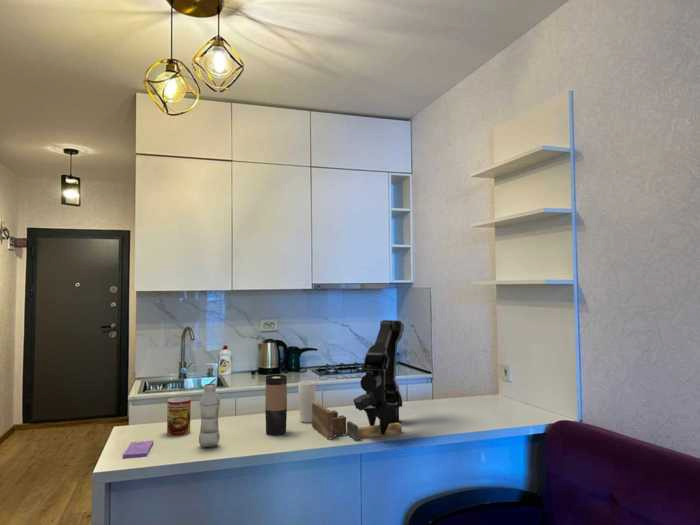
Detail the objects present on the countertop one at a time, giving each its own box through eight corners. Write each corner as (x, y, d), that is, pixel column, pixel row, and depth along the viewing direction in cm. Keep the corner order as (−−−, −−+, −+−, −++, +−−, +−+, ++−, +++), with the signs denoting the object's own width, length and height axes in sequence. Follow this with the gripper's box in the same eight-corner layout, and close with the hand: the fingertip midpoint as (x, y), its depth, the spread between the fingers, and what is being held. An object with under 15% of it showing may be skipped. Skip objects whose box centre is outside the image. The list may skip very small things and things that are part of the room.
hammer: (395, 429, 181) (395, 415, 181) (404, 434, 175) (404, 420, 175) (347, 436, 173) (347, 421, 174) (354, 441, 167) (354, 426, 168)
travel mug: (290, 430, 180) (290, 375, 181) (280, 436, 172) (280, 378, 173) (271, 428, 182) (271, 374, 183) (261, 434, 175) (261, 377, 176)
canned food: (166, 437, 173) (166, 402, 173) (168, 431, 180) (168, 397, 181) (189, 435, 175) (190, 400, 175) (190, 429, 182) (191, 396, 183)
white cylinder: (313, 424, 188) (313, 384, 189) (296, 423, 190) (296, 383, 191) (317, 419, 195) (317, 381, 196) (301, 418, 196) (301, 380, 197)
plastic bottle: (200, 443, 165) (201, 383, 166) (221, 443, 166) (222, 382, 167) (196, 449, 159) (197, 386, 160) (218, 449, 159) (218, 386, 160)
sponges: (153, 445, 165) (153, 440, 165) (146, 458, 152) (146, 452, 153) (130, 447, 163) (130, 441, 163) (122, 460, 151) (122, 454, 151)
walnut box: (332, 425, 187) (332, 400, 187) (349, 436, 172) (348, 410, 173) (312, 427, 184) (312, 402, 184) (327, 439, 169) (327, 412, 170)
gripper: (345, 383, 181) (345, 427, 180) (367, 393, 164) (368, 441, 163) (373, 381, 185) (373, 423, 184) (397, 390, 168) (397, 437, 167)
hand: (377, 431), depth 174 cm, fingers open, 8 cm apart
